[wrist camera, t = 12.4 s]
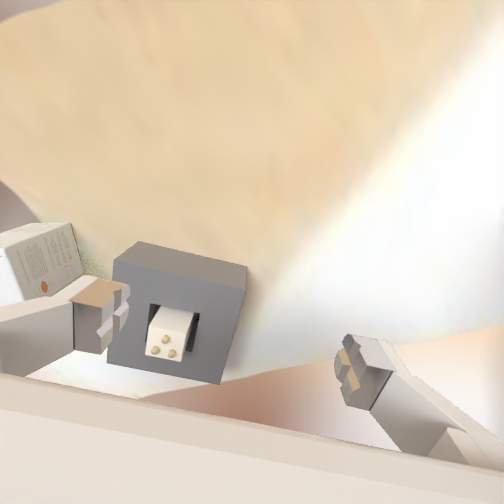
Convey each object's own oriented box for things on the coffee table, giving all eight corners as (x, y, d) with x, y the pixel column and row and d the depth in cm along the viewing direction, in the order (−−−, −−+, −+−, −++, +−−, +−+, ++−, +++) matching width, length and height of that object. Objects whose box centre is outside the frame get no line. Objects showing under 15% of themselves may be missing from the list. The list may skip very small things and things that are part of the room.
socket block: (247, 266, 38) (245, 289, 31) (224, 350, 43) (219, 384, 37) (138, 241, 37) (113, 259, 30) (129, 330, 42) (106, 363, 36)
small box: (32, 222, 36) (-53, 247, 26) (71, 221, 36) (2, 246, 26) (49, 274, 39) (-21, 314, 29) (85, 273, 39) (28, 314, 29)
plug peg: (202, 291, 40) (184, 336, 30) (197, 314, 41) (179, 365, 31) (173, 285, 39) (146, 329, 29) (169, 308, 41) (142, 358, 31)
